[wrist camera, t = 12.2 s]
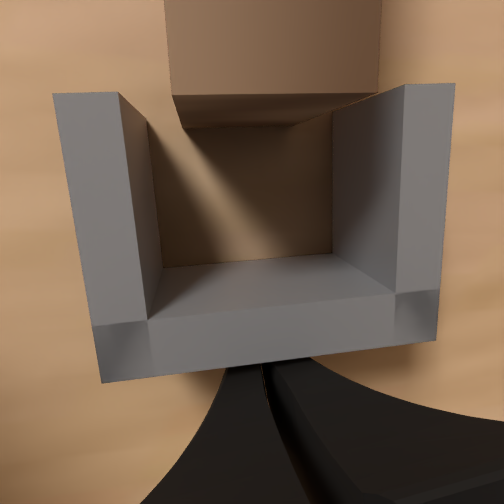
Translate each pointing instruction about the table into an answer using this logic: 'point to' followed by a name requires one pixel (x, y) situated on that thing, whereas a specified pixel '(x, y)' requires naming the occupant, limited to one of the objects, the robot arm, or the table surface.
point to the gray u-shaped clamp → (263, 270)
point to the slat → (269, 59)
